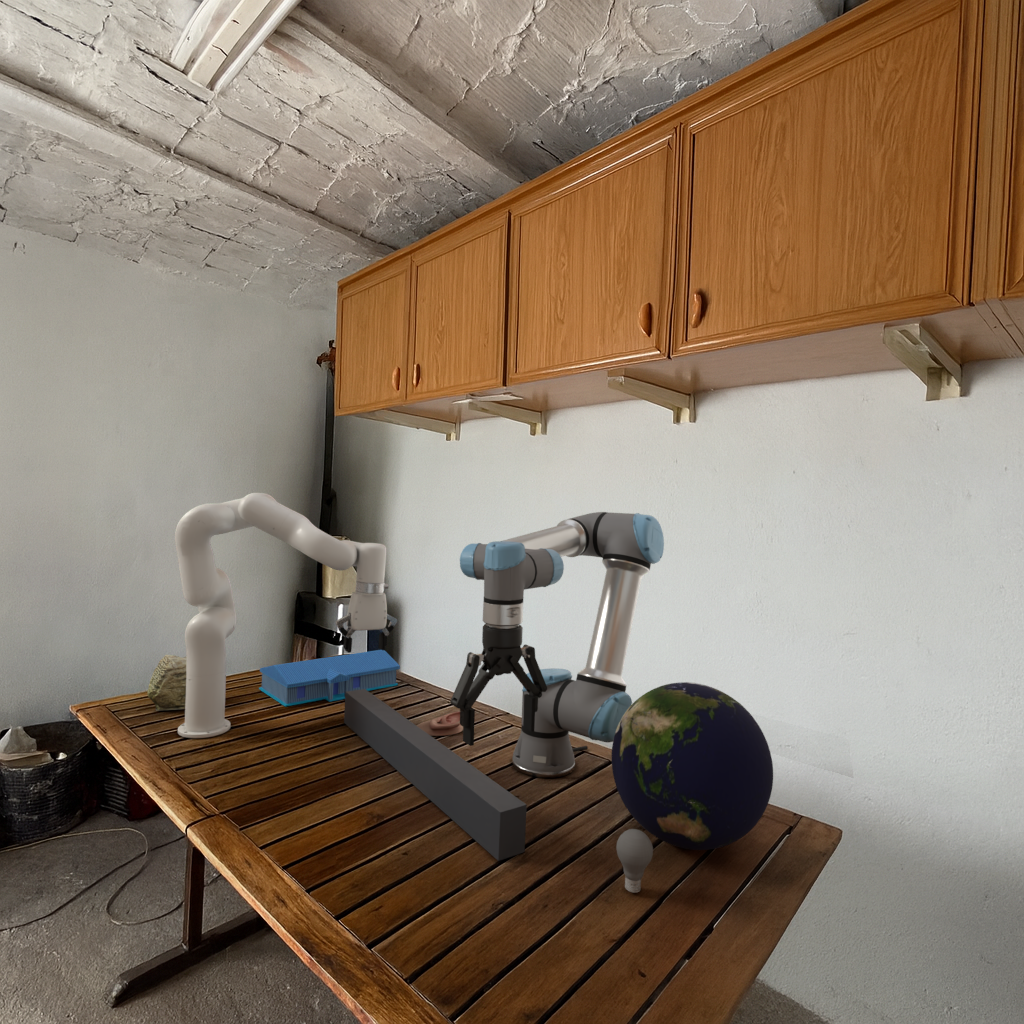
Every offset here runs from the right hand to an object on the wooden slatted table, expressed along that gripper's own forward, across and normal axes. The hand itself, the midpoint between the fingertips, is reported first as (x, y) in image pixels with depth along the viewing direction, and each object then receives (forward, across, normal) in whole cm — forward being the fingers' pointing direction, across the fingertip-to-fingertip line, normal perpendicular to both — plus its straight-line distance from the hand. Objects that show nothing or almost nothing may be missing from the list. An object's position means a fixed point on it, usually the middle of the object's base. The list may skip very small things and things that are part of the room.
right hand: (499, 736), depth 119 cm
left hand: (-1, -1, +66) cm, 66 cm away
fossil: (+20, -40, +106) cm, 115 cm away
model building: (+21, +3, +104) cm, 106 cm away
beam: (+20, -1, +33) cm, 39 cm away
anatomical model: (+21, +17, +55) cm, 61 cm away
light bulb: (+20, +11, -25) cm, 34 cm away
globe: (+20, +32, -19) cm, 42 cm away
